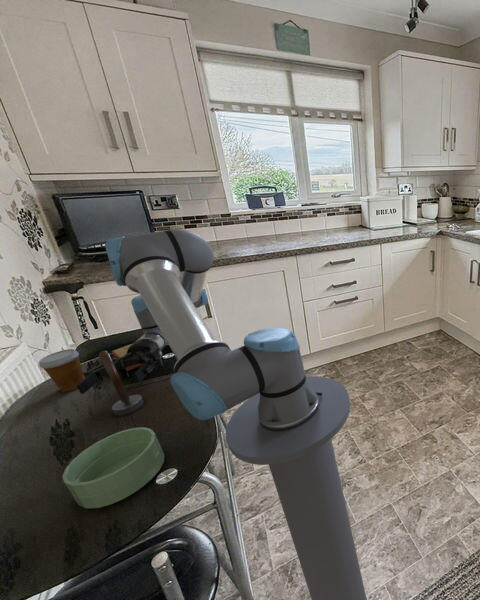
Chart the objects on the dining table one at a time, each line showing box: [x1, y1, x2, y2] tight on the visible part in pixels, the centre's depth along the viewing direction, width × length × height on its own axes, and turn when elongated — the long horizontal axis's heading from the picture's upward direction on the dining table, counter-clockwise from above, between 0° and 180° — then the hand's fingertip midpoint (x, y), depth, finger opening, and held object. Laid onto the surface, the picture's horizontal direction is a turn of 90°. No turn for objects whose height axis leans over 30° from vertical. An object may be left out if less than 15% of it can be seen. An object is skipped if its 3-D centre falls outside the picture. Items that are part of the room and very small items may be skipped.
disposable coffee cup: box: [38, 348, 85, 392], centre depth 109 cm, size 10×10×12 cm
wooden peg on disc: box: [98, 350, 145, 417], centre depth 93 cm, size 7×7×19 cm
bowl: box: [62, 426, 165, 510], centre depth 70 cm, size 15×15×7 cm
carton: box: [110, 343, 154, 372], centre depth 124 cm, size 8×16×4 cm, turn 54°
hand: (108, 384), depth 90 cm, fingers open, 13 cm apart
